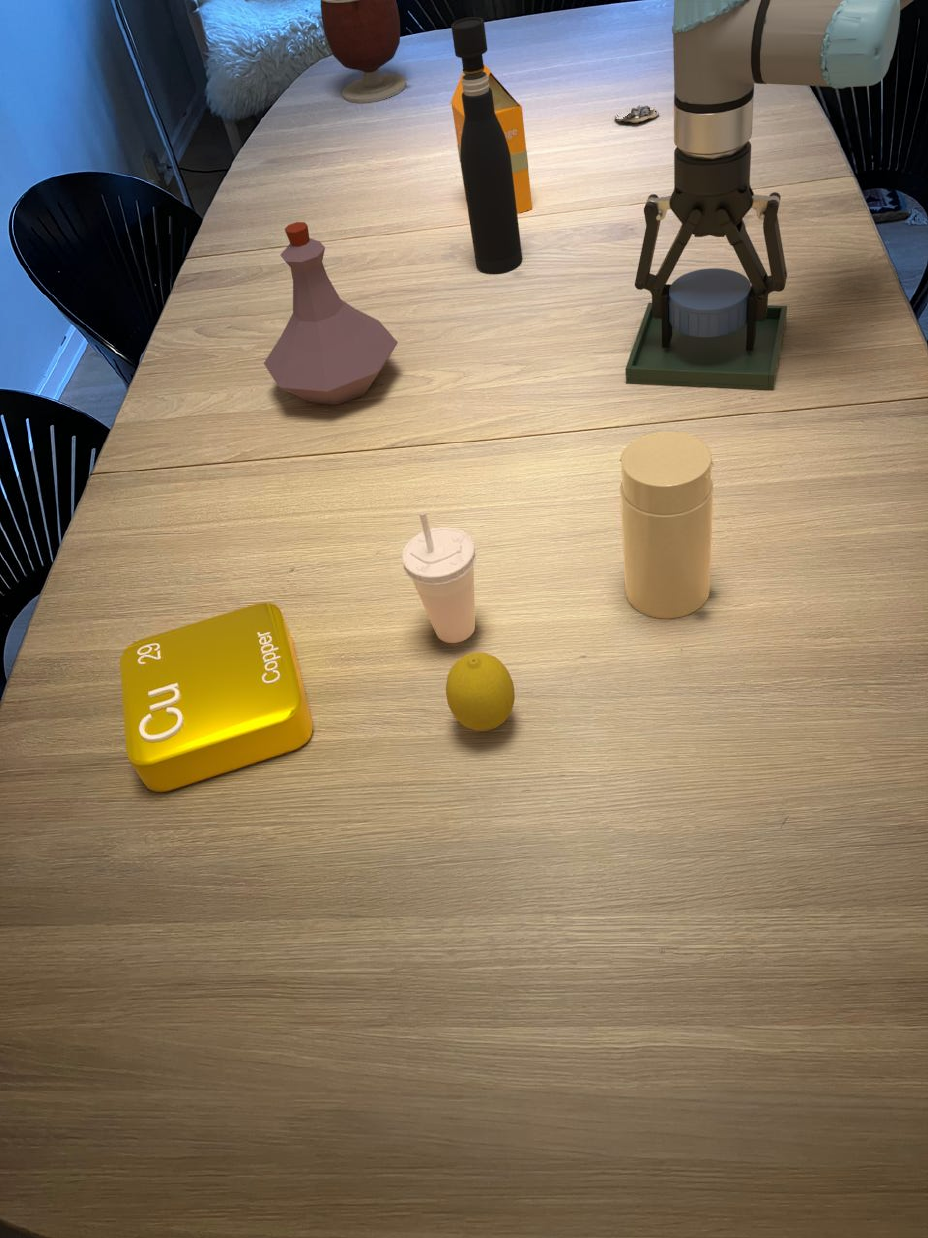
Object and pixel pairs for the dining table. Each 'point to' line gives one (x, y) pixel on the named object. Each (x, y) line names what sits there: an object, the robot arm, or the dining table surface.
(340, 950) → the dining table surface
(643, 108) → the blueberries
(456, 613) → the smoothie
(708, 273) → the lid
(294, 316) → the flask
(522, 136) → the orange juice
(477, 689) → the lemon
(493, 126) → the black water bottle
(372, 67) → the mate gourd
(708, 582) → the jar
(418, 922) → the dining table surface
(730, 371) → the tray
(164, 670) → the element tile
